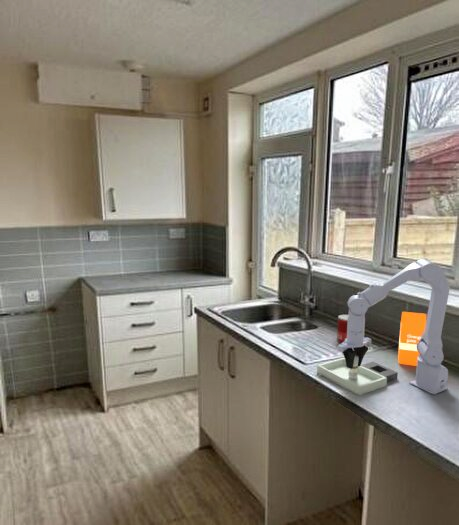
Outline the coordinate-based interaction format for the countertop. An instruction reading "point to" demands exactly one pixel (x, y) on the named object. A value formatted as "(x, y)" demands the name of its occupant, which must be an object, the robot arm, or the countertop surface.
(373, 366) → the fuse holder
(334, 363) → the parts tray
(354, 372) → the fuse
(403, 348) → the orange juice
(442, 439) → the countertop surface
